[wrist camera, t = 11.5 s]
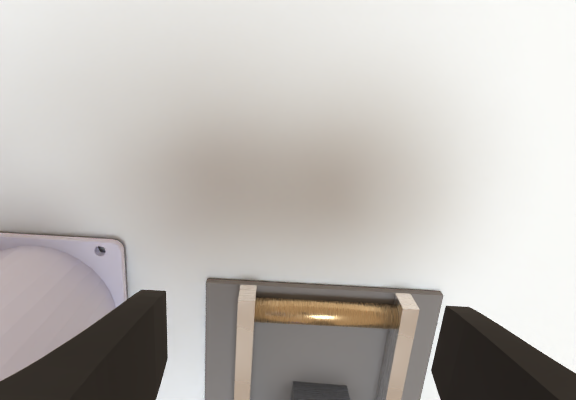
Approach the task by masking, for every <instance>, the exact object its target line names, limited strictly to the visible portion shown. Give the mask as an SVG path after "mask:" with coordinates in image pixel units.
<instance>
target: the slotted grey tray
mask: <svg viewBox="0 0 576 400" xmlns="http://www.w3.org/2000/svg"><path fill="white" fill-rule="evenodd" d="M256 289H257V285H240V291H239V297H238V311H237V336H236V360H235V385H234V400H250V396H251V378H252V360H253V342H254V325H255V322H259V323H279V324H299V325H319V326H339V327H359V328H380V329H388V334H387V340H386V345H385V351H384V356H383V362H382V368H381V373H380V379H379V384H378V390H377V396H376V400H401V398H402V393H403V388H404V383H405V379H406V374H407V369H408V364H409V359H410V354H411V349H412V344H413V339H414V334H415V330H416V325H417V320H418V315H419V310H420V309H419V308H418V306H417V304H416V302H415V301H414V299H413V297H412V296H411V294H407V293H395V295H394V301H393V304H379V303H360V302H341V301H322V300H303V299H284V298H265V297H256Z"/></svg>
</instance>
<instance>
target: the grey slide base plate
mask: <svg viewBox="0 0 576 400" xmlns="http://www.w3.org/2000/svg"><path fill="white" fill-rule="evenodd" d="M240 285H257V289H256V297H265V298H284V299H303V300H322V301H341V302H360V303H379V304H393V301H394V295H395V293H407V294H411V296H412V297H413V299H414V301H415V302H416V304H417V306H418V308H419V309H420V310H419V315H418V320H417V325H416V330H415V334H414V339H413V344H412V349H411V354H410V359H409V364H408V369H407V374H406V379H405V383H404V388H403V393H402V398H401V400H420V398H421V393H422V389H423V384H424V380H425V375H426V371H427V366H428V362H429V357H430V353H431V348H432V344H433V339H434V335H435V330H436V326H437V321H438V317H439V312H440V308H441V303H442V299H443V294H442V293H441V292H440V291H426V290H408V289H389V288H371V287H352V286H334V285H315V284H297V283H279V282H260V281H242V280H223V279H207V282H206V353H205V400H234V385H235V360H236V336H237V311H238V297H239V291H240ZM387 334H388V329H380V328H359V327H339V326H319V325H299V324H279V323H259V322H255V325H254V342H253V360H252V378H251V396H250V400H290V397H291V391H292V384H293V381H300V382H311V383H323V384H334V385H346V386H347V388H348V393H349V397H350V400H376V396H377V390H378V384H379V379H380V373H381V368H382V362H383V356H384V351H385V345H386V340H387Z"/></svg>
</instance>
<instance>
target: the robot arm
mask: <svg viewBox="0 0 576 400" xmlns="http://www.w3.org/2000/svg"><path fill="white" fill-rule="evenodd" d="M98 246H101V247H103V248H104V249H105V251H106V252H105V253H103V252H101V251H99V249H98ZM166 362H167V316H166V291H154V290H141V291H139V292H137V293H136V294H134V295H133V296H132V297H130V298H129V299H127V291H126V274H125V257H124V247H123V245H122V244H121V242H119V241H118V240H114V239H101V238H84V237H67V236H50V235H32V234H15V233H0V400H156V397H157V394H158V391H159V387H160V384H161V380H162V377H163V373H164V369H165V366H166ZM431 371H432V374H433V378H434V381H435V384H436V387H437V390H438V393H439V396H440V399H441V400H576V373H574V372H572V371H571V370H569V369H567V368H566V367H564V366H563V365H561V364H559V363H558V362H556V361H554V360H553V359H551V358H550V357H548V356H547V355H545V354H543V353H542V352H540V351H539V350H537V349H536V348H534V347H532V346H531V345H529V344H528V343H526V342H525V341H523V340H522V339H520V338H519V337H517V336H515V335H514V334H512V333H511V332H509V331H508V330H506V329H505V328H503V327H502V326H500V325H499V324H497V323H495V322H494V321H492V320H491V319H489V318H487V317H486V316H484V315H482V314H481V313H479V312H477V311H476V310H474V309H472V308H470V307H458V306H446V308H445V312H444V316H443V321H442V325H441V330H440V334H439V338H438V343H437V347H436V352H435V356H434V361H433V365H432V369H431Z"/></svg>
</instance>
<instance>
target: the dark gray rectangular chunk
mask: <svg viewBox="0 0 576 400" xmlns="http://www.w3.org/2000/svg"><path fill="white" fill-rule="evenodd" d="M290 400H350V397H349V393H348V388H347V386H346V385H334V384H323V383H311V382H300V381H293V384H292V391H291V397H290Z"/></svg>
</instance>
